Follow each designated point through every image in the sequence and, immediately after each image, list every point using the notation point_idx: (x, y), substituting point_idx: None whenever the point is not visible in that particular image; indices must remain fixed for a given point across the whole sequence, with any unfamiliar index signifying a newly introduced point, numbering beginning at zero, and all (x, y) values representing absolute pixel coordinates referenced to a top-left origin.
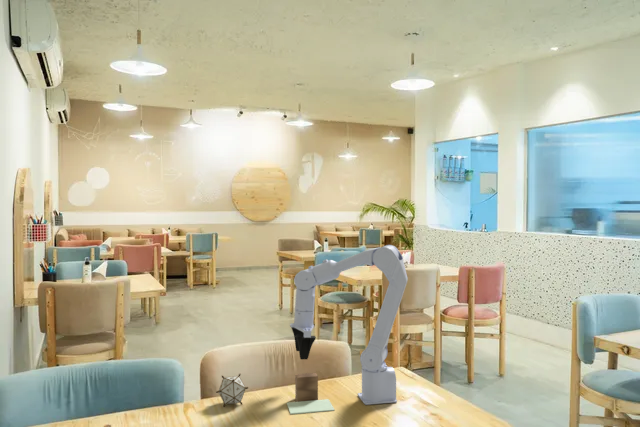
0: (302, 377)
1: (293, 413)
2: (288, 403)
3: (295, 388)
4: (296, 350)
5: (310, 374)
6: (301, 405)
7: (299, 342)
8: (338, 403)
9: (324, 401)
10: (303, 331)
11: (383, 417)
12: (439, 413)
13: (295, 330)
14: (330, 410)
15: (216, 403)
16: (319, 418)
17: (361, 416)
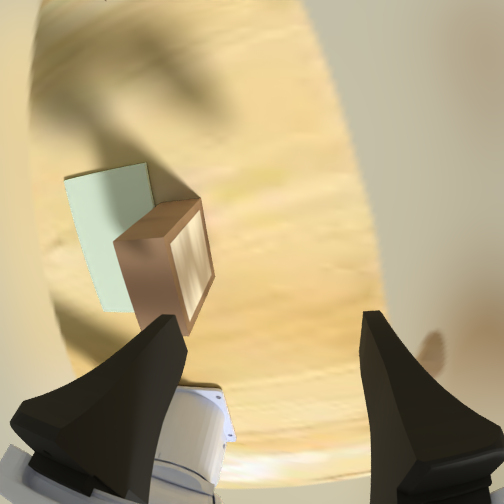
0: (121, 268)
1: (66, 189)
2: (136, 170)
3: (186, 211)
4: (364, 314)
5: (162, 310)
6: (120, 218)
7: (52, 396)
8: None
9: None
10: (7, 485)
11: None
12: None
13: (403, 467)
14: (100, 299)
15: None
16: (55, 262)
17: (87, 354)
